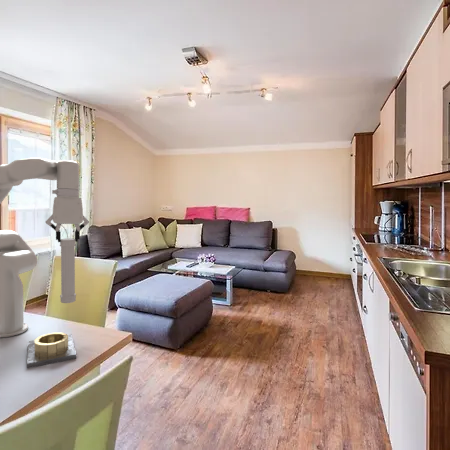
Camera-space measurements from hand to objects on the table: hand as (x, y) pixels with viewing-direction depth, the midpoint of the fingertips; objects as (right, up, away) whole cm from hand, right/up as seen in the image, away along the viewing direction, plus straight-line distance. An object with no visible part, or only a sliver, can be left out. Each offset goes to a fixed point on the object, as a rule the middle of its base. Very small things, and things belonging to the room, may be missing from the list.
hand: (67, 241), depth 121 cm
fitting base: (-1, -38, -10) cm, 39 cm away
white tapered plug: (-1, -24, +2) cm, 24 cm away
